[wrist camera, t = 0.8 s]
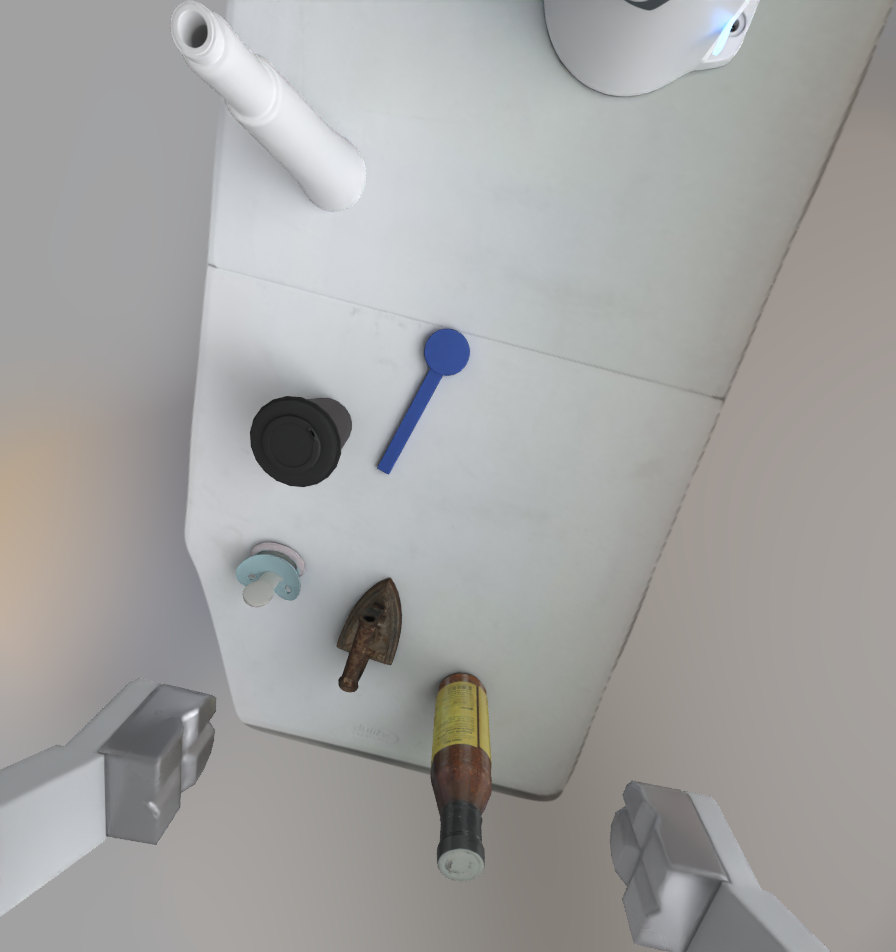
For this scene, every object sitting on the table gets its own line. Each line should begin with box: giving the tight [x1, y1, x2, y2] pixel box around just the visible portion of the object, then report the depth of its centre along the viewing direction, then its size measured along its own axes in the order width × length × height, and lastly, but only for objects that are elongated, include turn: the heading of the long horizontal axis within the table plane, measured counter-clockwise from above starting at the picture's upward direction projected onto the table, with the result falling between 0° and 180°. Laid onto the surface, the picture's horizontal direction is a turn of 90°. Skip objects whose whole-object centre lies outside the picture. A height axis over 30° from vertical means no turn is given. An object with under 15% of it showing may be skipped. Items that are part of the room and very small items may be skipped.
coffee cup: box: [250, 396, 352, 487], centre depth 45 cm, size 8×8×10 cm
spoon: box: [377, 329, 470, 474], centre depth 48 cm, size 16×4×1 cm, turn 151°
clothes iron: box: [337, 578, 402, 692], centre depth 53 cm, size 7×11×10 cm, turn 163°
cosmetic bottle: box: [170, 0, 366, 212], centre depth 32 cm, size 6×6×22 cm
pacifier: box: [236, 542, 305, 607], centre depth 52 cm, size 7×6×6 cm
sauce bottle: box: [431, 673, 492, 881], centre depth 49 cm, size 7×6×20 cm
